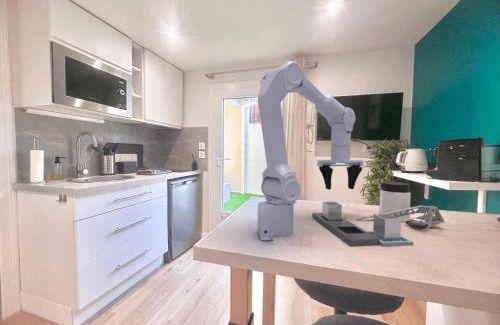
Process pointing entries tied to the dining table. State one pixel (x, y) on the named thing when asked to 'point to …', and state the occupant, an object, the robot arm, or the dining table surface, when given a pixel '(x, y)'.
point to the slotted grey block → (331, 211)
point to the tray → (395, 242)
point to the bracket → (429, 209)
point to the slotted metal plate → (347, 231)
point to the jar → (395, 198)
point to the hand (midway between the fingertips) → (339, 188)
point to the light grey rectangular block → (387, 227)
